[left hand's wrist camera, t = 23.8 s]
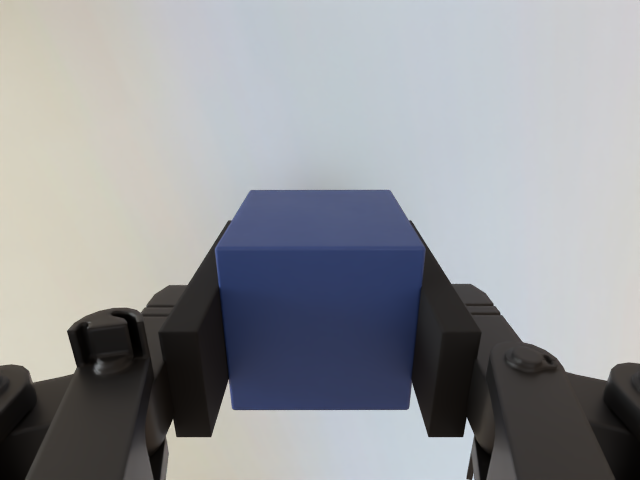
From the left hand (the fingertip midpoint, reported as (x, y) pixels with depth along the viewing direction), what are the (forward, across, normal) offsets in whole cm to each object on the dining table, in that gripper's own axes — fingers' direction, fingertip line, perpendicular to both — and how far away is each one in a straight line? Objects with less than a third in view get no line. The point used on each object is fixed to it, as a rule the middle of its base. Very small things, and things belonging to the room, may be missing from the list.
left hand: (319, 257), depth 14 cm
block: (0, 0, 0) cm, 0 cm away
